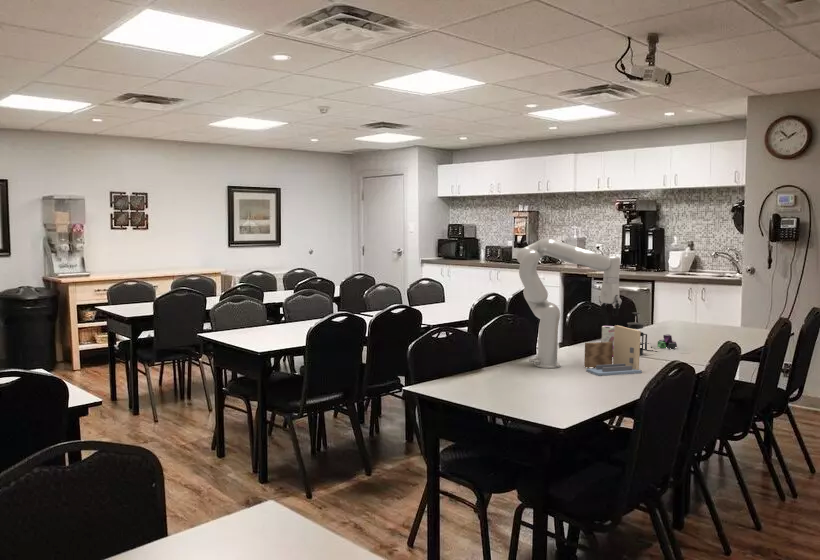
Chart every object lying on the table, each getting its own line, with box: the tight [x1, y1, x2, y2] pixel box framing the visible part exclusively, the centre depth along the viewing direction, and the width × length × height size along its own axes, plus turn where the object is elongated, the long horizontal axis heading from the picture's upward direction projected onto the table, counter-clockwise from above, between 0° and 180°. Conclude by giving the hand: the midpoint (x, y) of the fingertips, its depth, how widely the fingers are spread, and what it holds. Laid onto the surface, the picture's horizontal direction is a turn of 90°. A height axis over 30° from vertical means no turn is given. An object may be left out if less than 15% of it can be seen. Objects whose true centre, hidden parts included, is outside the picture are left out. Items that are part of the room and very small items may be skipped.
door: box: [583, 341, 613, 369], centre depth 326 cm, size 15×3×12 cm, turn 108°
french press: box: [626, 311, 648, 357], centre depth 359 cm, size 12×9×23 cm
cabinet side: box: [585, 324, 643, 377], centre depth 318 cm, size 24×20×20 cm
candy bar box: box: [600, 325, 615, 357], centre depth 351 cm, size 11×5×16 cm, turn 62°
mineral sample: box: [657, 333, 678, 350], centre depth 381 cm, size 35×35×9 cm
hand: (609, 314), depth 329 cm, fingers open, 9 cm apart
